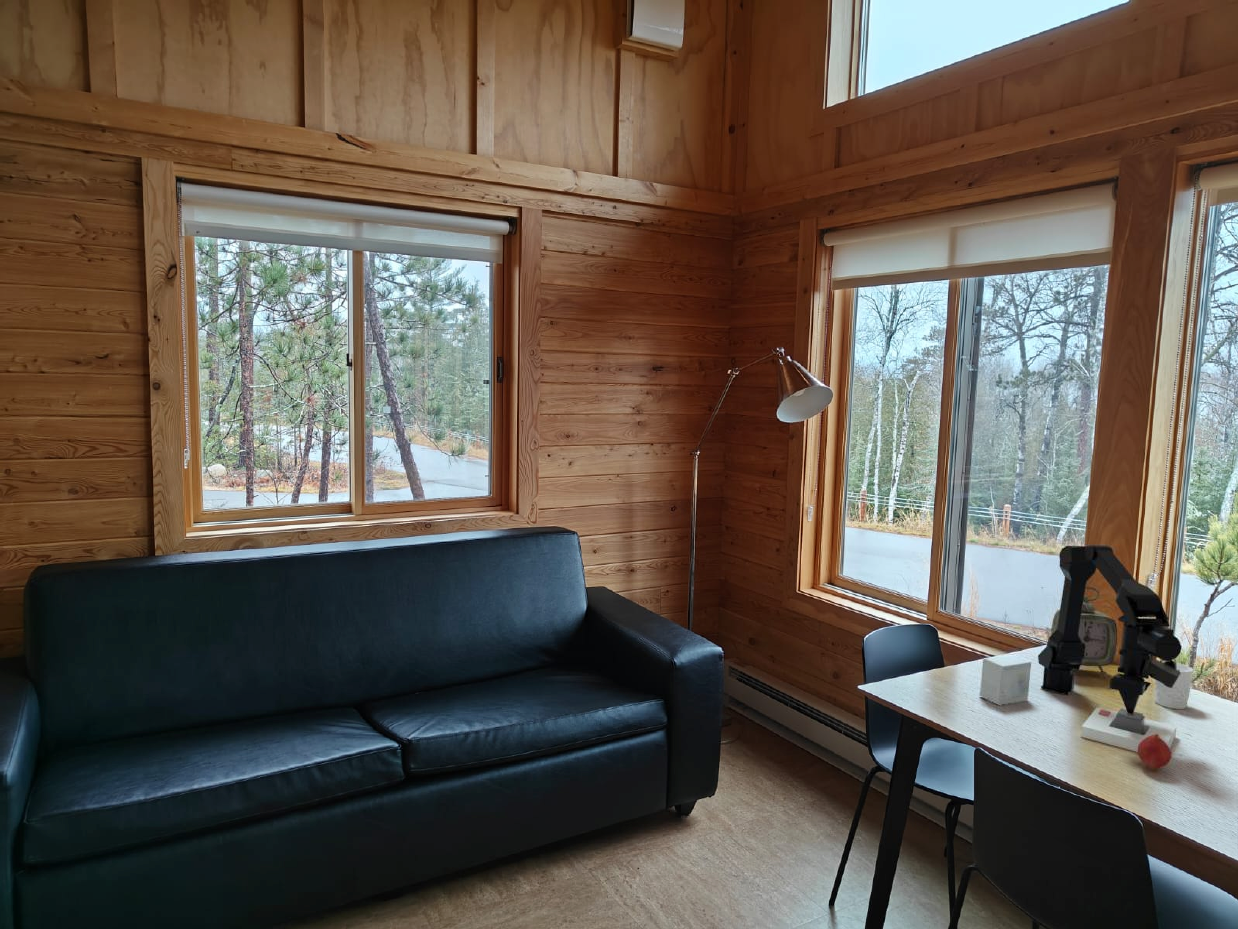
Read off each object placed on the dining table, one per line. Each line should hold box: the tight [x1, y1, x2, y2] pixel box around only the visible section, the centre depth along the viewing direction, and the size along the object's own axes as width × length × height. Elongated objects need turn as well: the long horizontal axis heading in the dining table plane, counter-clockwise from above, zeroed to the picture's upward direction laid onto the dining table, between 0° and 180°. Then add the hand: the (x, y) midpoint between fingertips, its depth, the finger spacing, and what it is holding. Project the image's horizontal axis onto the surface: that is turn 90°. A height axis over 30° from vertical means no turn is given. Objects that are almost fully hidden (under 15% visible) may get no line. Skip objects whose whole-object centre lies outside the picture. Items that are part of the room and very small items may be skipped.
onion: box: [1137, 733, 1172, 771], centre depth 169 cm, size 6×6×8 cm
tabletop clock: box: [1050, 585, 1118, 678], centre depth 229 cm, size 14×9×25 cm, turn 82°
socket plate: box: [1080, 707, 1177, 753], centre depth 186 cm, size 16×16×3 cm
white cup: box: [1154, 660, 1194, 710], centre depth 207 cm, size 8×8×10 cm
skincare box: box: [979, 654, 1032, 706], centre depth 207 cm, size 10×6×10 cm, turn 114°
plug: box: [1115, 708, 1146, 735], centre depth 186 cm, size 5×4×5 cm
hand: (1130, 712), depth 185 cm, fingers closed
